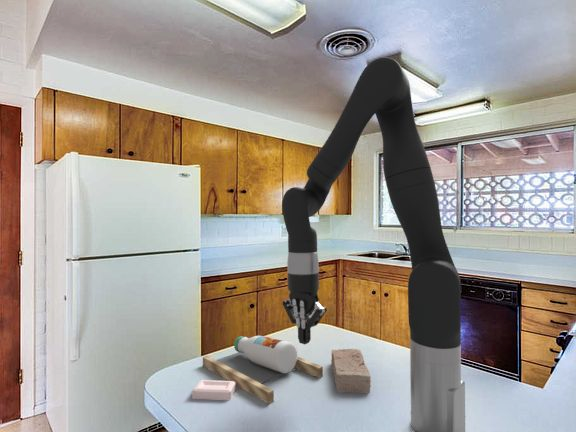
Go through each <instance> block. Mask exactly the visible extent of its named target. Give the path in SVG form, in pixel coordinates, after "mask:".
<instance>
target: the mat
mask: <svg viewBox="0 0 576 432" xmlns="http://www.w3.org/2000/svg"><path fill="white" fill-rule="evenodd" d="M216 360H217V361H219V362H221V363H223V364H224V365H226V366H228V367H230V368H232V369H234V370H236V371H238V372H240V373H242V374H244V375H245V376H247V377H249V378H251V379H253V380H255V381H257V382H259V383H261V384H263V385H264V384H266V383H268V382H270V381H272V380H275V379H276V378H279V377H281V376H284V375H286V374H287V373H282V372H278V371H275V370H272V369H269V368H267V367H264V366H261V365H258V364H256V363H254V362H252V361H250V360H249V359H248V357H247V356H246V355H245V354H244V353H240V352H236V353H232V354H229V355H226V356H224V357H221V358H218V359H216ZM296 369H297V368H296V367H294V368H293V369H292V370H291V371H290V372H293V371H294V370H296Z"/></svg>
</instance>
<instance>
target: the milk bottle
mask: <svg viewBox="0 0 576 432" xmlns="http://www.w3.org/2000/svg"><path fill="white" fill-rule="evenodd" d="M233 345H234V350H235V352H236V353H238V352H240V353H244V354H245V355H246V356H247V357H248V359H249V360H250V361H252V362H254V363H256V364H258V365H261V366H264V367H267V368H269V369H272V370H275V371H278V372H282V373H286V374H287V373H290V372H292V371H293V370H292V369H293V368H294V366H295V364H296V361H297V357H298V350H297V347H296V345H295V344H293V343H292V342H290V341H285V340H282V339H277V338H273V337H270V336H265V335H264V336H263V335H255V336H251V337H247V336H243V335H240V336H238V337H237V338H235V340H234V344H233ZM291 370H292V371H291Z"/></svg>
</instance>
